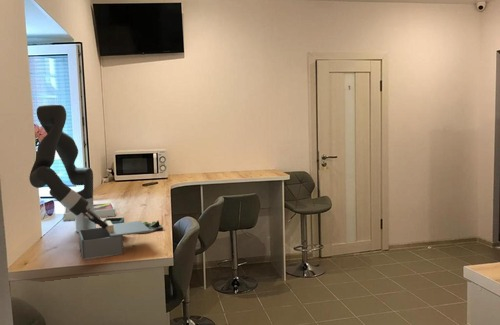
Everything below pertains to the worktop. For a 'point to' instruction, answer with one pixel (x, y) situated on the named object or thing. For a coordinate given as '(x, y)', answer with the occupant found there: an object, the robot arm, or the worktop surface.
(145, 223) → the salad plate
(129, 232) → the lid
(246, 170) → the worktop surface
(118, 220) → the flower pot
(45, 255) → the worktop surface
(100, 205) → the product packaging
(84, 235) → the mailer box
